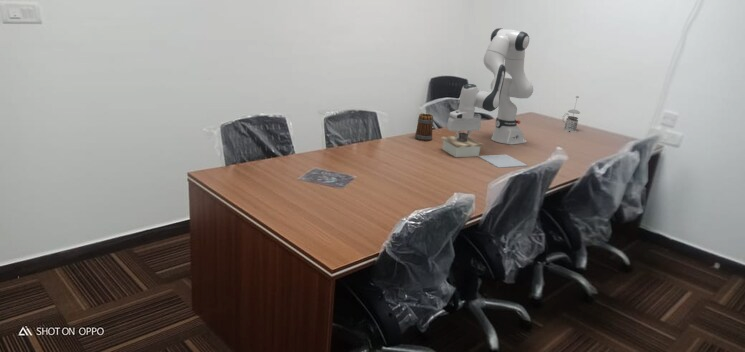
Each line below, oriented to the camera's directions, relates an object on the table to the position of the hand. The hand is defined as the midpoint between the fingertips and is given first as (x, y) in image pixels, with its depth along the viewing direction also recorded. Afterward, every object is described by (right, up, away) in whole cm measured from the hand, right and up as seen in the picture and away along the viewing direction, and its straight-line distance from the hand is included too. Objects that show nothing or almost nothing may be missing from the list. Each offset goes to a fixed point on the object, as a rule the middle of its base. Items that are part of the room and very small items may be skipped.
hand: (462, 138), depth 281 cm
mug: (-19, +2, +27) cm, 33 cm away
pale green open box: (-1, -8, +3) cm, 9 cm away
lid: (0, -2, +1) cm, 3 cm away
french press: (+90, +11, +77) cm, 119 cm away
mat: (+21, -13, -6) cm, 26 cm away
